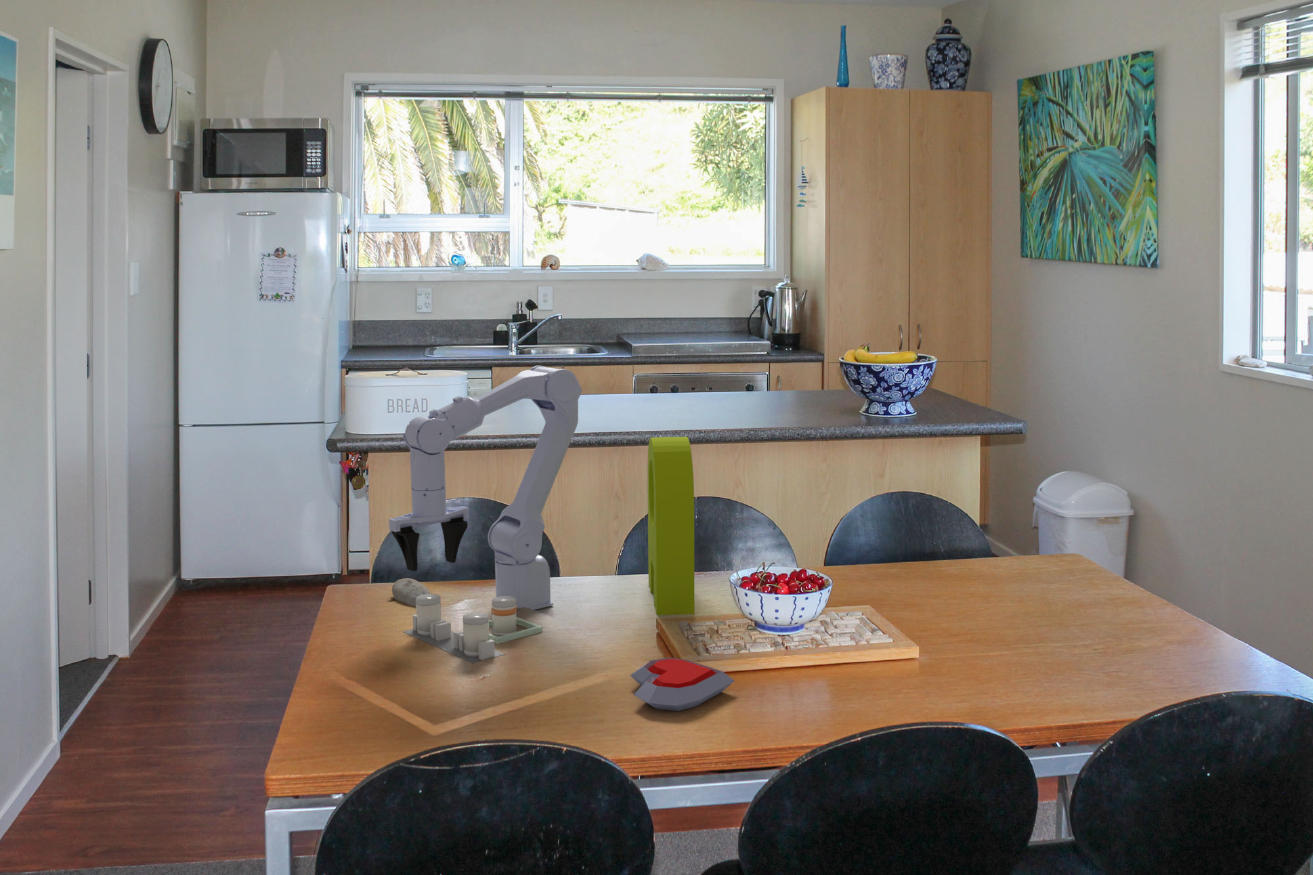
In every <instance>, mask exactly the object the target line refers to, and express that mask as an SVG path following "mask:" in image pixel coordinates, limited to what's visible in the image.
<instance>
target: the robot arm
mask: <svg viewBox="0 0 1313 875" xmlns="http://www.w3.org/2000/svg"><path fill="white" fill-rule="evenodd" d="M582 390H583V389H582V387H581V385H580V382H579V380H578V378H577V377H576V375H575V374H574V372H573V371H571V370H569V369H566V368H553V367H548V366H545V365H535V366H532V367H530V369H526V370H523V371H520V372H518V374H517V375H515V376H513V377H511V378H509V379H508V380H507V381H504V382H503V383H501V384H499V385H497V386H496V387H494V388H492V389H491V390H488V391H487V392H485V393H484V394H482V395H480V396H478V397H477V398H472V397H470V396H468V395H467V396H463V397H462V396H460V395H456V396H455V397H453V398H452V402H451V403H448V404H447V405H445V406H443V407H441V408H438V409H432V410H430V411H429V412H428V413H429V414H428V416H427V417H426V416H417V417H414V418H412V419H411V420H410V421H409V423H408V424H407V425H406V428H405V430H404V432H403V434H402V438H403V441H404V444H406V445H407V447H408V449H409V462H410V463H409V464H410V486H411V487H410V489H411V490H410V491H411V505H412V506H411V509H412V510H411V512H409V513H407V514H404V515H400V516H397V517H392V518H389V519H388V530H389V531H391V533H392V536H393V537H394V539H395V540H396V542H397V543H398V546H399V548H400V549H401V552H402V555H403V558H404V561H405V564H406V569H407V570H409V571H411V572H416V571H418V545H419V544H418V543H419V540H420V535H421V534H420V533H419V532H416V531H415V529H414V528H417V527H424V526H429V525H436V524H440V527H441V530H442V535H443V540H444V557H445V561H446V562H448V563H451V564H455V563H456V560H457V556H458V551H459V547H460V545H461V541H462V540H463V539H462V538H463V537H464V534H465V533H466V530H467V529H468V525H469V523H468V521H467V520H468V519H470V512H469V511H470V508H469V507H467V506H463V505H461V506H453V507H452V506H451V507H447V489H446V488H447V486H446V484H447V483H446V465H445V464H446V463H445V462H446V461H445V450H446V449H447V448H448V447H449V445H450V442H453V441H454V440H456V439H458V438H460V437H462V436H464V435H466V434H468V433H469V432H471V431H474V430H475V429H477V428H479V427H481V426H482V425H483V422H484V419H485V417H486V416H487V415H491V414H492V413H494V412H497V411H499V410H501V409H503V408H505V407H508V406H510V405H512V404H515V403H516V402H517V403H518V402H519V401H521V400H524V399H526V400H531V401H532V402H533V403H534V405H536V407H537V408H538V409H539V411H540V413H541V415H542V417H543V420H544V422H545V423H544V426H543V429H542V431H541V433H540V436H539V438H538V441H537V443H536V445H535V448H534V450H533V453H532V454H531V455H532V456H531V458H530V460H529V462H528V465H527V468H526V470H525V472H524V475H523V478H522V480H521V482H520V484H519V486H518V488H517V491H516V494H515V496H514V499H513V501H512V502H511V503H510V504H509V505H507V506H506V507H505V508H504V509H503V510H502V511H501V513H500V515H499V517H498V518H497V520H496V521H495V522H493V523H492V524H491V526H490V527H489V530H488V533H487V542H488V545H489V547H490V548H491V549H492V550H493V551H494V564H495V565H494V566H495V567H494V571H495V572H494V574H495V597H499V596H511V597H515V598H516V606H517V609H522V608H523V609H524V608H527V609H530V610H532V611H536V610H540V609H544V608H548V607H552V606H554V602H553V601H551V598H552V597H551V572H550V571H551V570H550V566H549V563H548V562H547V560H546V559H545V557H544V556H543V555H540V552H541V551H542V550H541V549H542V546H543V533H544V530H545V528H546V525H545V522H544V519H543V515H542V513H543V510H544V509H545V508H544V507H545V505H546V503H547V500H548V497H549V495H550V492H551V490H552V488H553V485H554V483H555V481H556V478H557V476H558V474H559V471H560V469H561V466H562V464H563V461H564V459H565V456H566V454H567V451H568V449H569V446H570V444H571V441H572V440H573V437H574V434H575V432H576V430H577V427H578V423H579V399H580V396H581V393H582Z"/></svg>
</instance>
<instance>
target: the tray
mask: <svg viewBox="0 0 1313 875" xmlns="http://www.w3.org/2000/svg"><path fill="white" fill-rule="evenodd" d="M516 618H517V625H519V626H521V627H524V628H526V629H523V630H519V631H518V630H517V631H516V632H514V633H511V634H507V635H497V634H494V633H490V632H489V640H494V644H498V645H499V644H501V643H506V642H509V641H512V640H517V639H521V638H524V637H527V636H531V635H534V634H538V633H542V632H543V626H542V625H539V624H537V623H535V622H531V621H530V620H526V619H523V618H520V617H518V616H516ZM490 627H492V619H489V628H490Z"/></svg>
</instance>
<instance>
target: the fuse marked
mask: <svg viewBox="0 0 1313 875" xmlns="http://www.w3.org/2000/svg"><path fill="white" fill-rule="evenodd" d="M517 609H518V608H517V606H516V598H515V597H511V596H499V597H496V596H495V597H493V598H492V599H491V620H492V626H491V627H492V628H491V629H492V634H493V635H496V636H503V635H507V634H511V633H514V632H518V630H517V628H518V626H517V625H518V624H517V618H516V617H517Z"/></svg>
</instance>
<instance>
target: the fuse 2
mask: <svg viewBox="0 0 1313 875" xmlns="http://www.w3.org/2000/svg"><path fill="white" fill-rule="evenodd" d="M489 620H490V618H489V614H488V613H486V612H469V613H466V614H464V615H462V630H463V639H464V655H465V656H468V657H479V654H478V643H480V642H484V641H487V640H489V633H490V627H489Z"/></svg>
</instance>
